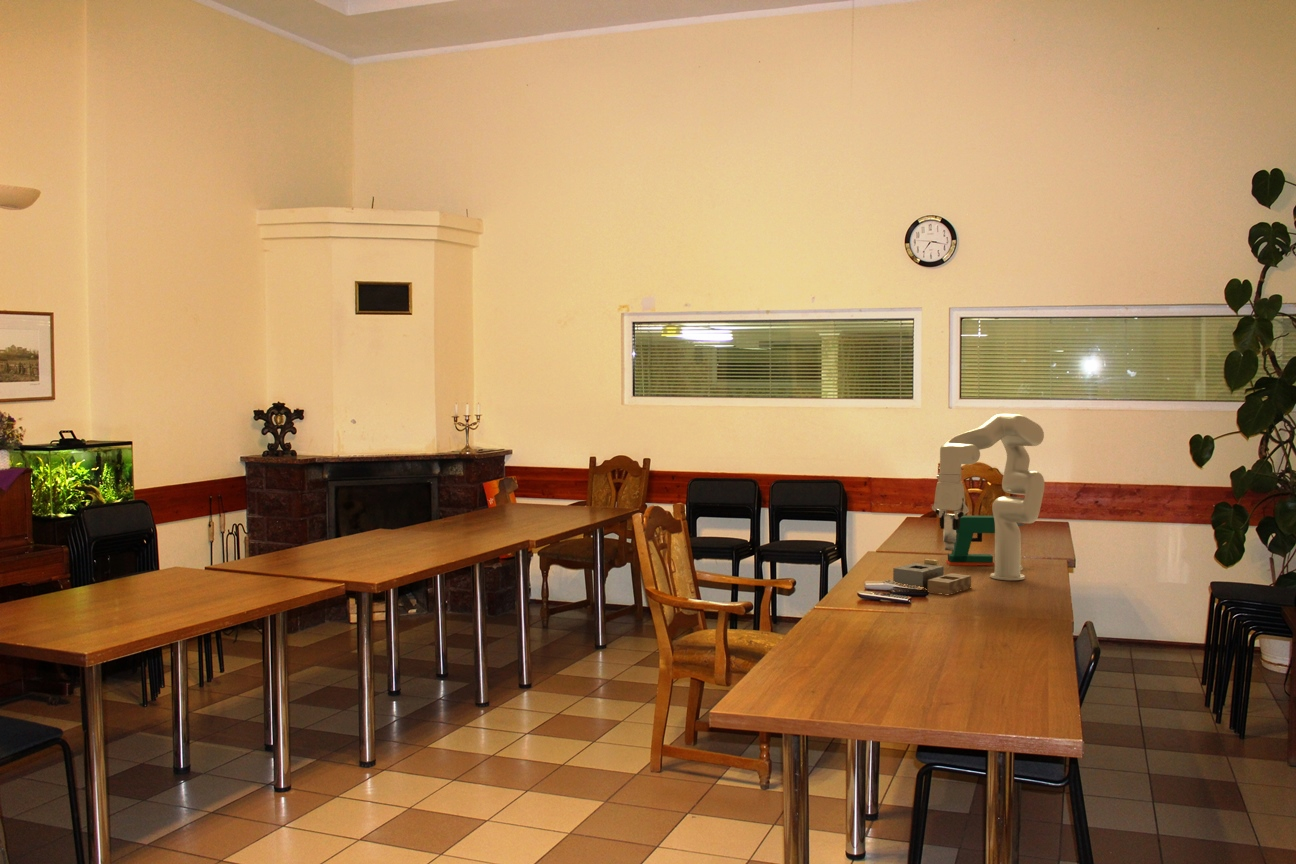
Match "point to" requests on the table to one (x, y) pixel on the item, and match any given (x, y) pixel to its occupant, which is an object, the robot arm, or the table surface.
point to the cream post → (949, 532)
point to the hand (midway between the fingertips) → (949, 528)
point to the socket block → (917, 574)
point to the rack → (949, 583)
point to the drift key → (931, 562)
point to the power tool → (972, 540)
